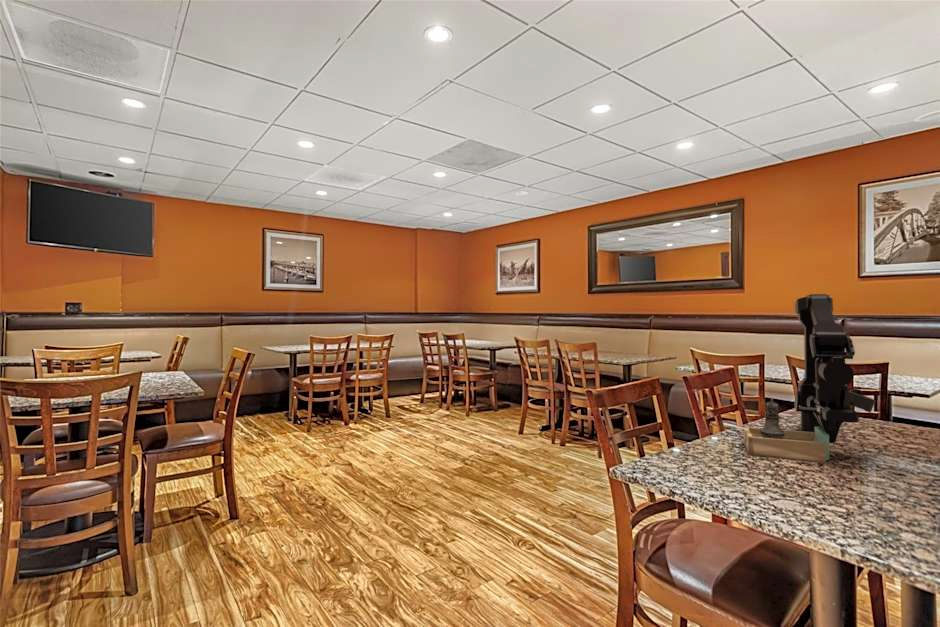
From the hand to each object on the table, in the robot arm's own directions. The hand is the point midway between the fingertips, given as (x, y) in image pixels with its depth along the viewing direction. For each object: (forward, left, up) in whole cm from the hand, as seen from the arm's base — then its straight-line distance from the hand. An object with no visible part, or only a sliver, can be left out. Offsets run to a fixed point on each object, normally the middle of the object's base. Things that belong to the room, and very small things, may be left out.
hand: (831, 442), depth 118 cm
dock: (0, -11, -4) cm, 11 cm away
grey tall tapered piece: (0, -13, -2) cm, 13 cm away
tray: (0, -9, -3) cm, 10 cm away
